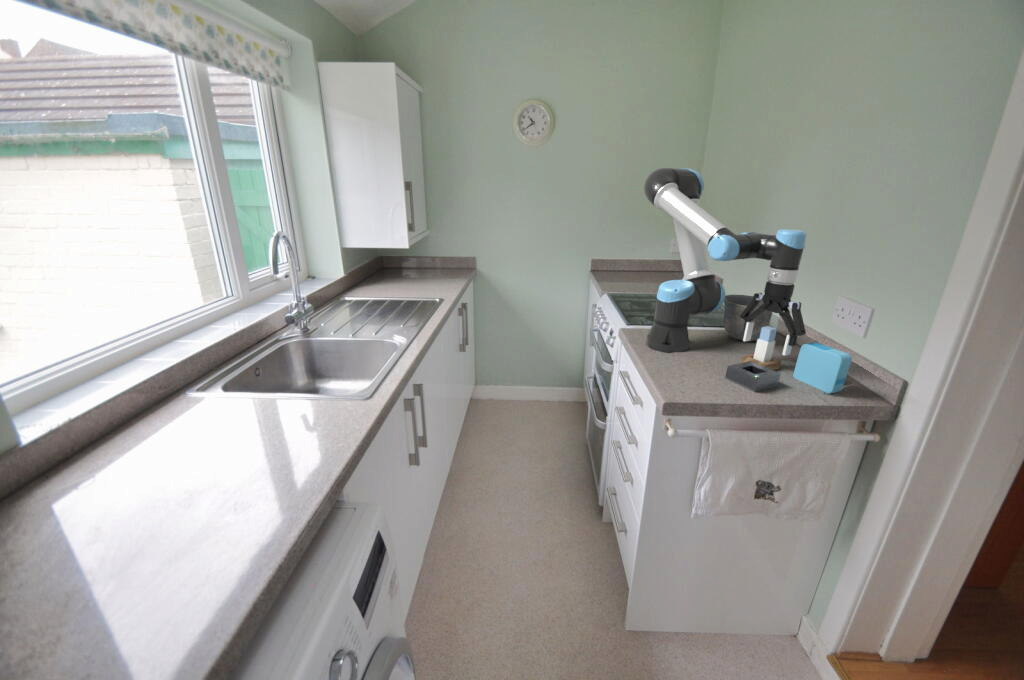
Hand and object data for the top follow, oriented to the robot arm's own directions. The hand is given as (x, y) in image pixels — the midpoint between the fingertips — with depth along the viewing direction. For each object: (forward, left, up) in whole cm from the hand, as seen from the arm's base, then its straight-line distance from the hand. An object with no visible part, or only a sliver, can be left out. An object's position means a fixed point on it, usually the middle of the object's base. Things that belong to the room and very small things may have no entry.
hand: (765, 347), depth 138 cm
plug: (0, 0, -7) cm, 7 cm away
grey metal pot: (-22, +19, -7) cm, 30 cm away
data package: (+16, +3, -7) cm, 18 cm away
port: (+7, -14, -7) cm, 17 cm away
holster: (0, 0, -7) cm, 7 cm away
